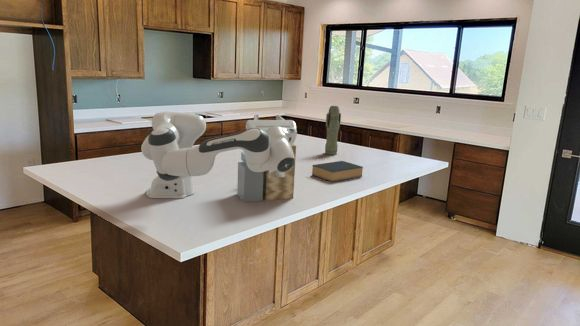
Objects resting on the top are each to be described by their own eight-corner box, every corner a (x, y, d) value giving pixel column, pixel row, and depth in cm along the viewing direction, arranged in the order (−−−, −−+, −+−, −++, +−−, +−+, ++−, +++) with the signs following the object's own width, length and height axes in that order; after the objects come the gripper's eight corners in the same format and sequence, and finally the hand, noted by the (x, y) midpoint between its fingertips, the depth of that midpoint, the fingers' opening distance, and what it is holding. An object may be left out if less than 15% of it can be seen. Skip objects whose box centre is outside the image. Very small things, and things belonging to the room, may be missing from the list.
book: (311, 175, 257) (312, 165, 255) (341, 171, 272) (342, 160, 271) (332, 183, 244) (332, 171, 242) (362, 177, 259) (363, 166, 258)
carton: (265, 200, 207) (268, 146, 201) (258, 192, 218) (260, 141, 212) (293, 198, 212) (296, 145, 206) (284, 191, 223) (287, 140, 217)
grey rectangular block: (243, 202, 202) (244, 168, 199) (237, 193, 214) (238, 162, 210) (262, 200, 205) (263, 168, 202) (254, 192, 217) (255, 161, 214)
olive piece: (320, 153, 320) (324, 105, 312) (332, 151, 327) (336, 105, 319) (328, 155, 313) (332, 107, 305) (340, 154, 320) (344, 106, 312)
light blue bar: (254, 172, 192) (254, 164, 192) (241, 159, 216) (241, 151, 215) (263, 172, 194) (263, 163, 193) (248, 159, 218) (249, 151, 217)
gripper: (248, 144, 169) (241, 122, 178) (297, 143, 176) (288, 122, 185) (250, 131, 164) (243, 109, 174) (301, 131, 172) (291, 110, 181)
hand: (266, 116), depth 179 cm, fingers open, 8 cm apart
